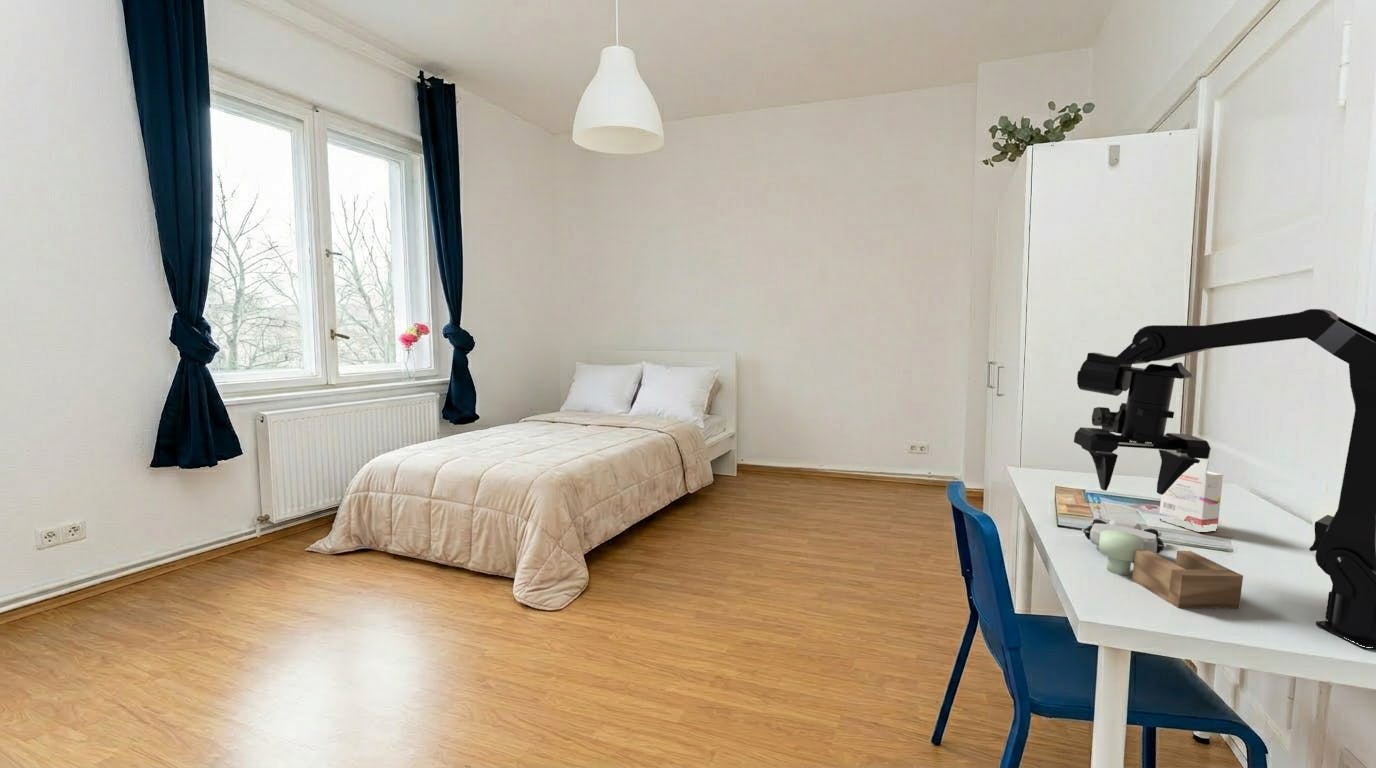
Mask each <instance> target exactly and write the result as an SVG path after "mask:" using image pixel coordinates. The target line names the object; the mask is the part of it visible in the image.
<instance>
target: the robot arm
mask: <svg viewBox="0 0 1376 768" xmlns="http://www.w3.org/2000/svg"><path fill="white" fill-rule="evenodd" d="M1300 339H1308V340H1310V341H1312V342H1313V343H1314V344H1316V345H1318V346H1319V347H1321V348H1322V349H1324V350H1326V351H1327V352H1328V353H1330V354H1331V355H1332V356H1334V357H1336V358H1338V359H1339V360H1341V361H1343V362H1345V363H1346V364H1348V370H1349V372H1348V373H1349V383H1350V384H1349V385H1350V390H1351V394H1352V398H1353V404H1354V410H1355V411H1354V416H1353V420H1352V421H1353V422H1352V427H1351V432H1350V438H1349V444H1348V449H1347V454H1346V455H1347V456H1346V461H1345V465H1344V471H1343V472H1344V473H1343V478H1342V483H1341V488H1340V494H1339V501H1338V506H1337V510H1336V511H1335V514H1334V516H1333V515H1330V514H1326V515H1324V516H1322V517H1321V518H1319V519H1318V520H1317V521H1315V522H1314V541H1313V544H1312V545H1311V546H1310V547H1309V551H1310V552H1314V551H1315V562H1316V565H1317V566H1318V567H1319V568H1320V569H1321V570H1322V571H1323V572H1324V573H1325V574H1326V575H1327V576H1329V578H1330V581H1331V583H1332V585H1331V590H1330V591H1329V592H1328V596H1327V604H1326V611H1325V616H1324V617H1325V620H1316V621H1315V625H1316V626H1318V627H1320V628H1321V629H1324V630H1326V631H1328V632H1331V633H1332V632H1333V633H1332V634H1334V633H1335V634H1334V635H1336V634H1337V635H1336V636H1338V635H1340V636H1342V637H1345V638H1347V639H1349V640H1351V641H1354V642H1355V643H1358V644H1359V645H1362V646H1365V647H1373V648H1376V333H1374V332H1371V331H1370V330H1367V329H1365V328H1363V327H1362V326H1359V325H1357V324H1354V323H1353V322H1350V321H1349V320H1346V319H1344V318H1342V317H1341V316H1338V314H1336V313H1335V312H1333V311H1332V310H1329V309H1323V308H1309V309H1305V310H1304V311H1303V310H1302V311H1300V312H1293V313H1286V314H1278V315H1271V316H1265V317H1257V318H1250V319H1249V318H1248V319H1242V320H1237V321H1233V320H1232V321H1228V322H1227V321H1226V322H1220V323H1219V322H1218V323H1214V324H1213V323H1212V324H1205V325H1191V324H1190V325H1181V324H1180V325H1174V324H1171V325H1169V324H1168V325H1165V324H1164V325H1154V324H1153V325H1147V326H1144V327H1141V328H1140V329H1138V331H1136V333H1135V334H1134V335H1133V338H1132V340H1131V341H1132V342H1131V343H1130V344H1129V345H1128V346H1127V347H1125V349H1123V351H1121V352H1120V353H1119V354H1117V356H1114V355H1107V354H1104V353H1100V352H1088V353H1087V356H1086V359H1085V361H1083V363H1082V364H1081V366H1080V369H1079V370H1078V371H1077V378H1076V385H1077V387H1078V388H1079V390H1080V391H1081V390H1082V391H1086V392H1093V393H1096V394H1097V393H1098V394H1103V395H1110V396H1115V397H1117V396H1120V395H1121V394H1122V393H1123V392H1127V391H1128V394H1127V398H1126V399H1127V400H1126V402H1125V403H1124V402H1121V404H1120V405H1119V409H1118V411H1116V412H1115V411H1111V410H1110V408H1109V407H1103V406H1097V407H1094V408H1093V410H1092V415H1091V424H1092V426H1094V427H1079V428H1078V429H1077V430H1076V432H1075V433H1074V438H1073V443H1075V444H1077V445H1079V446H1081V449H1083V450H1085V451H1087V452H1088V453H1089V454H1090V456H1091V458H1092V460H1093V463H1094V467H1095V471H1096V474H1097V478H1098V482H1099V483H1098V484H1099V487H1100V489H1101V490H1102V491H1107V490H1108V488H1109V486H1110V483H1111V480H1112V477H1113V473H1114V470H1115V466H1116V462H1117V459H1118V456H1119V454H1117V453H1115V452H1114V451H1116V450H1117V449H1118V447H1121V448H1123V447H1124V448H1135V449H1136V448H1138V449H1148V450H1149V449H1153V450H1154V449H1155V450H1158V453H1159V456H1160V459H1161V462H1160V463H1161V464H1160V467H1159V473H1158V479H1157V482H1156V483H1157V484H1156V493H1157V494H1159V495H1160V496H1161V495H1163V494H1164V493H1165V492H1166V491H1167V490H1168V489H1169V488H1170V486H1171V485H1172V484H1173V483H1174V482H1175V481H1176V480H1177V479H1178V478H1179V477H1180V476H1181V475H1182V474H1183V473H1184V472H1185V471H1186V470H1187V469H1188V468H1190V467H1191V466H1193V465H1194V463H1199V462H1200V460H1199V459H1204V460H1207V459H1209V458H1210V455H1211V449H1212V448H1211V446H1210V443H1209V442H1208V441H1207V440H1205V439H1202V438H1199V437H1197V436H1194V435H1190V434H1187V433H1173V432H1167V433H1166V434H1165V431H1166V426H1167V420H1168V419H1174V416H1175V411H1172V410H1170V405H1171V400H1172V394H1173V389H1174V384H1175V379H1179V380H1182V379H1190V378H1192V377H1193V374H1192V373H1191V372H1190V371H1189V370H1187V369H1186V368H1185V366H1184V365H1183V362H1174V363H1172V364H1171V365H1164V364H1156V363H1151V362H1158V361H1159V362H1160V361H1161V362H1162V361H1170V360H1175V359H1180V358H1182V357H1183V358H1184V357H1187V356H1191V355H1195V354H1198V353H1201V352H1203V351H1209V350H1213V349H1216V348H1217V349H1218V348H1227V347H1237V346H1245V345H1253V344H1263V343H1272V342H1280V341H1288V340H1291V341H1292V340H1300ZM1138 364H1148V365H1147V366H1146V367H1145V368H1141V367H1134V366H1133V365H1138ZM1096 427H1101V428H1096ZM1115 433H1116V434H1115ZM1196 458H1199V459H1196ZM1340 636H1339V637H1340ZM1342 637H1341V638H1342Z"/></svg>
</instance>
